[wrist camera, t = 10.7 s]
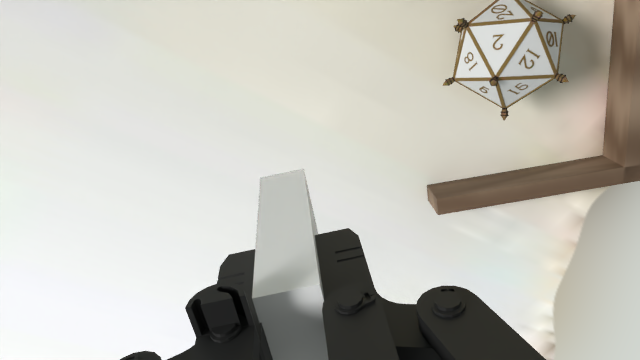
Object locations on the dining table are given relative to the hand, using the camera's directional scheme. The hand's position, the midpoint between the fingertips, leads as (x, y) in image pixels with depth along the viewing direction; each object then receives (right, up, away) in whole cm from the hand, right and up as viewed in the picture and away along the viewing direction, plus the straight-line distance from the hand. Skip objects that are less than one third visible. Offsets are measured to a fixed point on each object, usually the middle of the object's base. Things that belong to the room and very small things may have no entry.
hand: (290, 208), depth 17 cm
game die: (+17, +10, +22) cm, 30 cm away
